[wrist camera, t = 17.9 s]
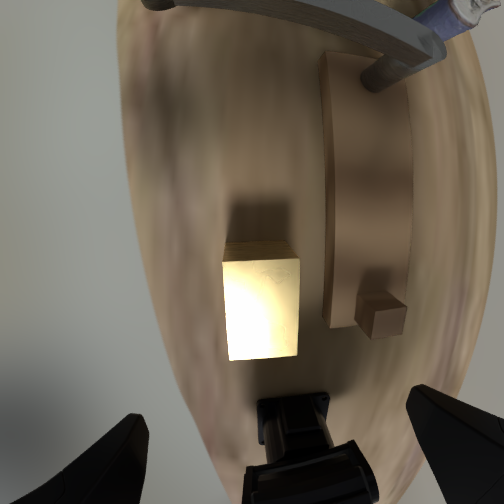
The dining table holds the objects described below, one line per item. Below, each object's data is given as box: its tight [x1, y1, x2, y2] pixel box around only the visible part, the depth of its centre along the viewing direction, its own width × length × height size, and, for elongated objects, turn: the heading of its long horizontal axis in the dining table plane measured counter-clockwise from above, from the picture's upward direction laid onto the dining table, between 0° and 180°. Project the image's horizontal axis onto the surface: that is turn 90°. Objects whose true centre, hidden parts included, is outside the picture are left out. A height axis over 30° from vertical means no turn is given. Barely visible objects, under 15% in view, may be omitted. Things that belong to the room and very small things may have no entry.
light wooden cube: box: [223, 240, 300, 360], centre depth 18 cm, size 6×4×5 cm, turn 2°
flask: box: [413, 0, 501, 42], centre depth 11 cm, size 9×3×11 cm, turn 134°
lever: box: [141, 0, 447, 93], centre depth 11 cm, size 15×2×7 cm, turn 78°
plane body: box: [318, 51, 413, 340], centre depth 17 cm, size 19×6×5 cm, turn 2°
